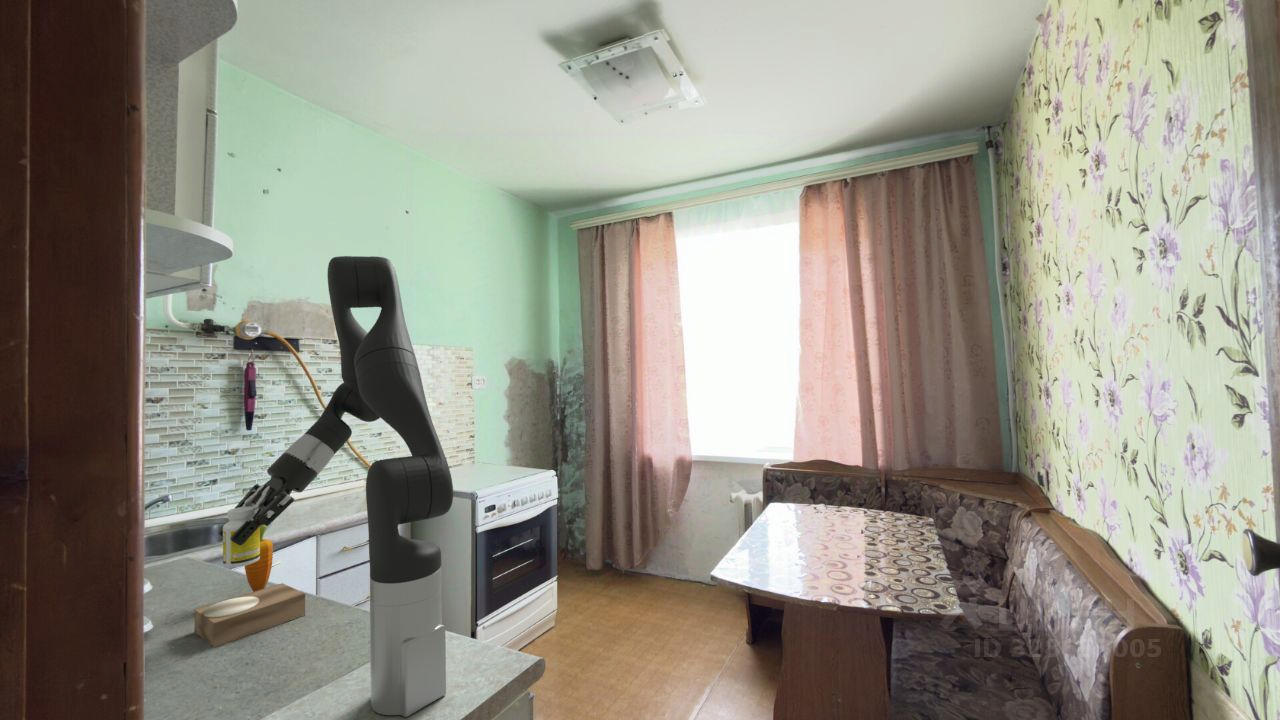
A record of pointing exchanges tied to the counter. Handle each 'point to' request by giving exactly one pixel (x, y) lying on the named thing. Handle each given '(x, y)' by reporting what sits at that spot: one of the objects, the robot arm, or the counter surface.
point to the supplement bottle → (234, 552)
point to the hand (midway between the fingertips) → (229, 539)
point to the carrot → (260, 564)
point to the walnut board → (248, 614)
